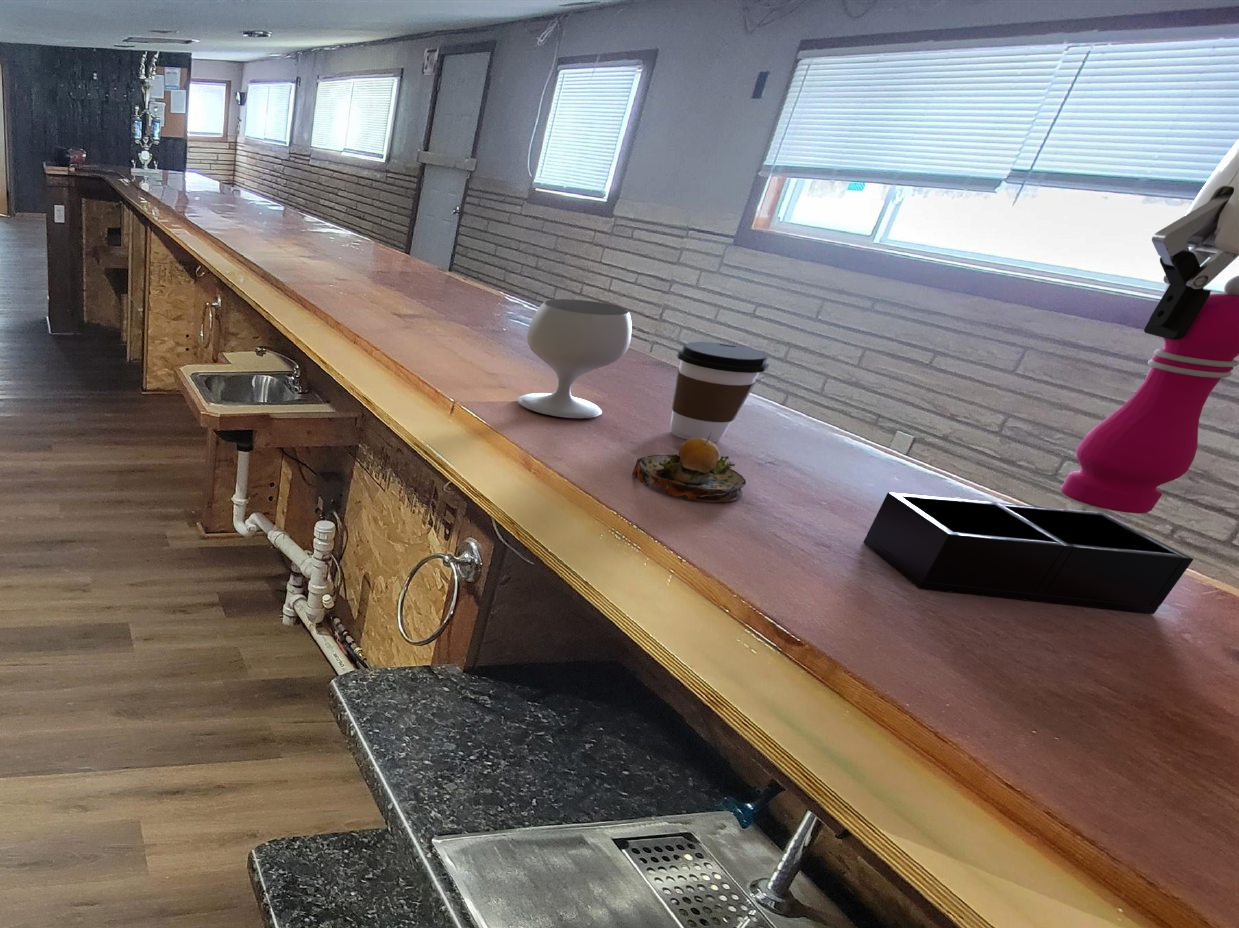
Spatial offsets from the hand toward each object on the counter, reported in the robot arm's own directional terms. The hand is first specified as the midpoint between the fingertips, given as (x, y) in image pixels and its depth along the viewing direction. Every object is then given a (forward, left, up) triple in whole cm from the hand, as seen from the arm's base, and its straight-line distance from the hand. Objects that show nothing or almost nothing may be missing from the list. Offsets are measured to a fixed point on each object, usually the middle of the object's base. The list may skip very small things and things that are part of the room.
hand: (1208, 337), depth 70 cm
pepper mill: (0, 0, -15) cm, 15 cm away
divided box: (+5, 0, -24) cm, 24 cm away
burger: (+28, -18, -24) cm, 41 cm away
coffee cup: (+20, -39, -24) cm, 50 cm away
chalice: (+37, -47, -24) cm, 65 cm away
